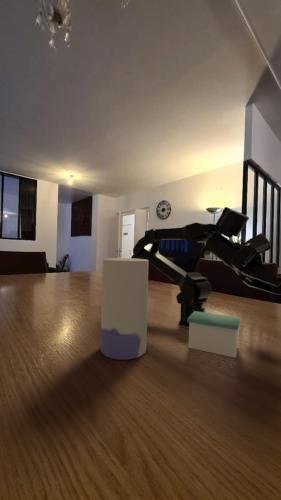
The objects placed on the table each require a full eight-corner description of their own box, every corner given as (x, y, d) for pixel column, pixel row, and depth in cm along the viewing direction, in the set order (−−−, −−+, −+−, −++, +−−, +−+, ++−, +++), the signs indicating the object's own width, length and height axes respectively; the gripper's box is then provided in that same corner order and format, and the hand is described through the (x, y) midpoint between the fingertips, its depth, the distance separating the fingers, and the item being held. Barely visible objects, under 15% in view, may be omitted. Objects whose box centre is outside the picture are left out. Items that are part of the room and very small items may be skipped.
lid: (187, 327, 51) (187, 318, 51) (194, 318, 58) (194, 311, 58) (238, 336, 47) (238, 326, 47) (239, 325, 53) (239, 317, 53)
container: (151, 344, 53) (153, 258, 53) (137, 364, 44) (139, 260, 44) (113, 337, 56) (115, 257, 56) (91, 355, 47) (94, 258, 47)
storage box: (188, 347, 52) (189, 321, 52) (194, 338, 57) (194, 314, 57) (236, 357, 47) (236, 329, 47) (237, 347, 53) (238, 321, 53)
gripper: (241, 211, 53) (308, 248, 44) (252, 241, 68) (304, 274, 58) (209, 247, 55) (267, 290, 45) (226, 269, 69) (273, 305, 59)
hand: (280, 289), depth 52 cm, fingers open, 9 cm apart
